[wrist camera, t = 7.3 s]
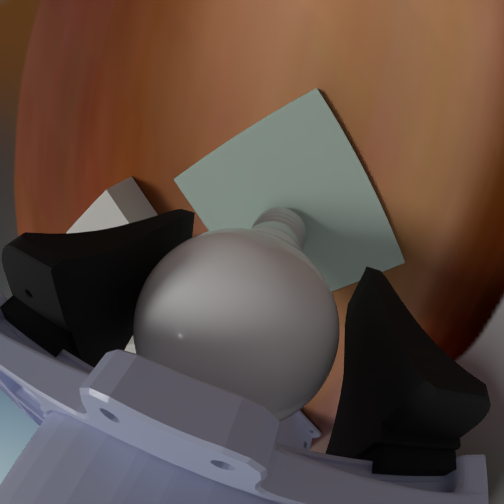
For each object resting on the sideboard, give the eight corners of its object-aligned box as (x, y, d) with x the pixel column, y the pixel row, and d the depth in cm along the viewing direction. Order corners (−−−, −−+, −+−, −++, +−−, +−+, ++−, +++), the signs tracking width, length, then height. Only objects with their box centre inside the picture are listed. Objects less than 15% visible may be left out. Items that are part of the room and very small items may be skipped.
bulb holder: (234, 318, 21) (223, 343, 18) (126, 350, 27) (113, 367, 25) (131, 176, 17) (106, 189, 15) (52, 258, 24) (34, 271, 22)
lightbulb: (326, 154, 13) (290, 304, 4) (352, 268, 16) (341, 468, 7) (208, 185, 16) (54, 318, 7) (247, 284, 18) (164, 447, 9)
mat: (403, 258, 15) (405, 262, 15) (269, 309, 19) (267, 313, 19) (317, 88, 12) (316, 87, 12) (176, 177, 16) (173, 179, 16)
